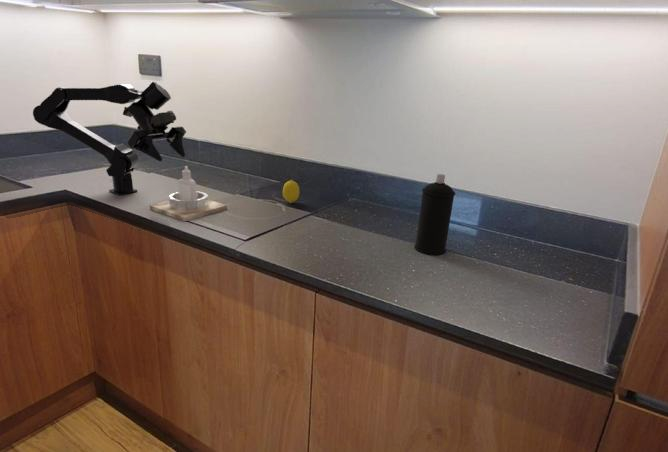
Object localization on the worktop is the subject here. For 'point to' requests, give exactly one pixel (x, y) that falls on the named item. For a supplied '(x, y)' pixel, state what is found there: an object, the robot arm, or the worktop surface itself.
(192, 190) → the eye dropper bottle
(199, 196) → the collar
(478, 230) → the worktop surface
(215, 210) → the base plate
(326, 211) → the worktop surface
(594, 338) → the worktop surface
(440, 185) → the aerosol can
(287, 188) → the lemon
